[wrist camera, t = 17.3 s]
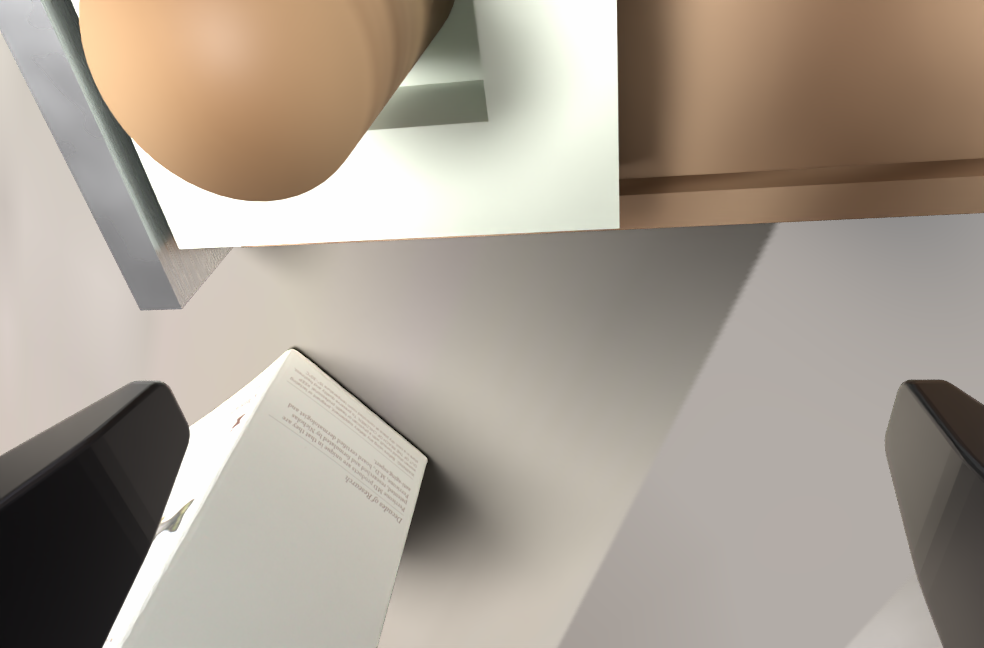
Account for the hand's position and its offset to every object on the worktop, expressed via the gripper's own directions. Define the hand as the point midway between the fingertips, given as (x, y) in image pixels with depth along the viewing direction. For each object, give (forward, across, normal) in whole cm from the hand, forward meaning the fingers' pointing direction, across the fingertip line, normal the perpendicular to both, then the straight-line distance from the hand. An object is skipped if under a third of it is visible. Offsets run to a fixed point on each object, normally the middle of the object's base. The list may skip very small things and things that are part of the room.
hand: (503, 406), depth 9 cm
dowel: (+11, +4, -4) cm, 12 cm away
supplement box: (+13, +11, +13) cm, 21 cm away
